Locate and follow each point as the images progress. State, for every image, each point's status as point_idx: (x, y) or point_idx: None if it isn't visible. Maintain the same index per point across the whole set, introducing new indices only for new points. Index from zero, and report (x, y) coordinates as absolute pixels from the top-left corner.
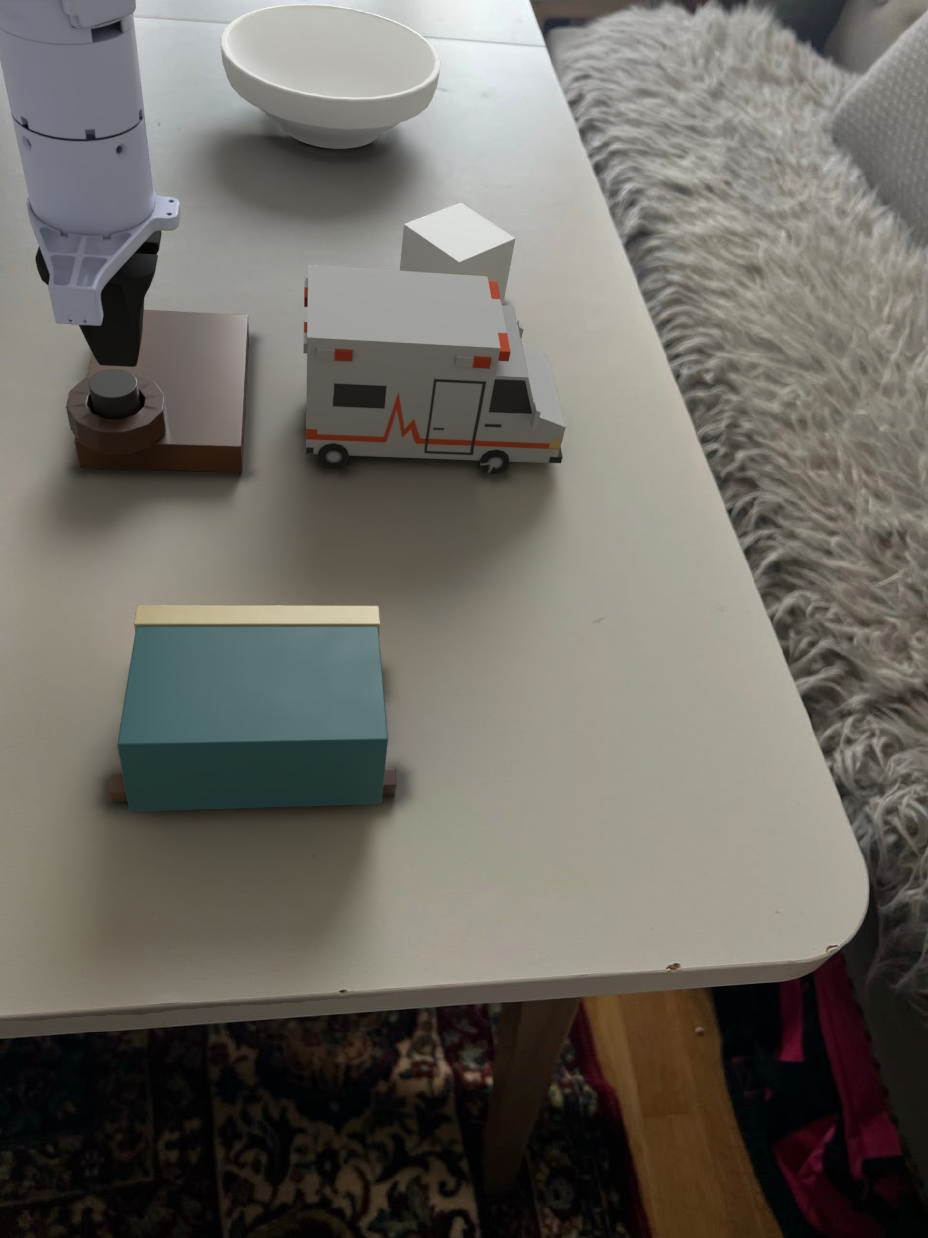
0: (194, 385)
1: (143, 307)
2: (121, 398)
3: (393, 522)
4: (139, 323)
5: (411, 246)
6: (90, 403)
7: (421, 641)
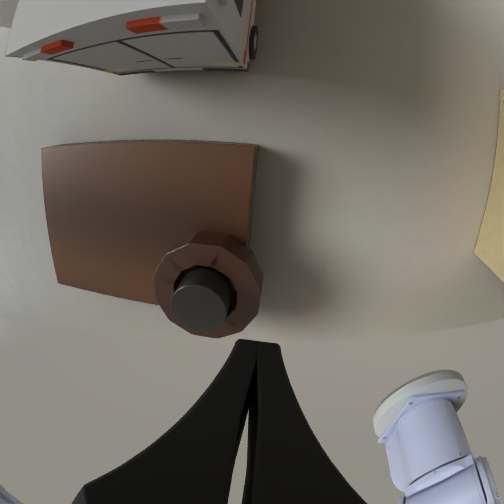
0: (144, 199)
1: (218, 396)
2: (225, 302)
3: (344, 6)
4: (303, 417)
5: None
6: None
7: (475, 41)
